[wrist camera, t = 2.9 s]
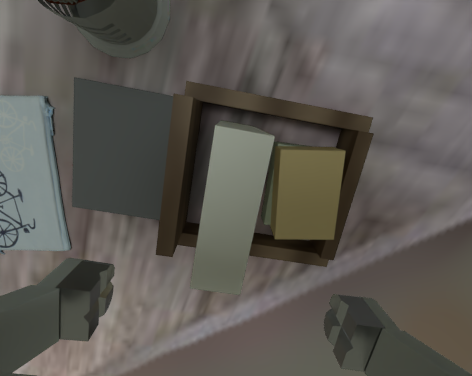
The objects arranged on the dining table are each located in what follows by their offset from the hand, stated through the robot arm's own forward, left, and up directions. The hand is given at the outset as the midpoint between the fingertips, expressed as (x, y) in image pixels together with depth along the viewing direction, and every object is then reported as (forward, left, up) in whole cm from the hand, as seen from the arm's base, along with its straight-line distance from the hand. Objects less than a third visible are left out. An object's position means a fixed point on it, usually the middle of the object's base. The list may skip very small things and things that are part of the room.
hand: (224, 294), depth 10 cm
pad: (+12, 0, -21) cm, 24 cm away
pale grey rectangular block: (0, 0, -21) cm, 21 cm away
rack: (-4, 0, -21) cm, 21 cm away
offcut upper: (-8, 0, -19) cm, 20 cm away
